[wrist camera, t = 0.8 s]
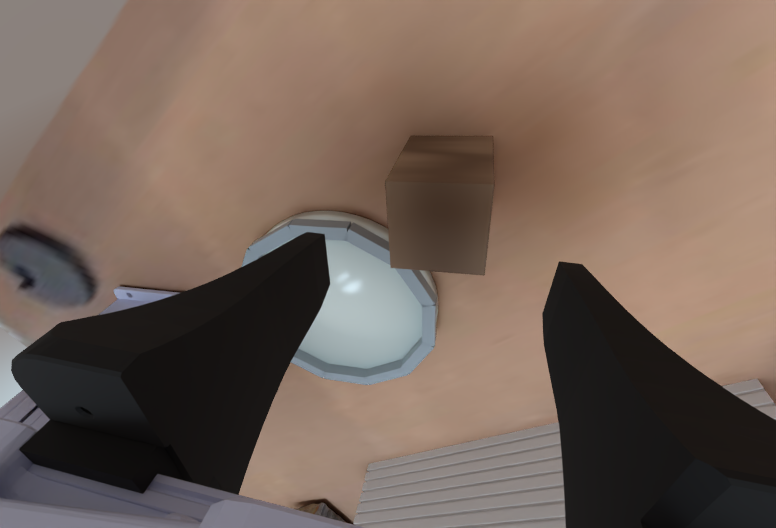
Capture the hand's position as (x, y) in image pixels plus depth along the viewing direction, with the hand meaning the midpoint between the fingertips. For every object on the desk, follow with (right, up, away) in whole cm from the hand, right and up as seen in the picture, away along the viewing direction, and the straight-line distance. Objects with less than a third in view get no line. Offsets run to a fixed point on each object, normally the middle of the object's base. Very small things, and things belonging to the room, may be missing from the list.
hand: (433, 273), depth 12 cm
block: (+2, +5, +8) cm, 10 cm away
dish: (-5, -2, +14) cm, 15 cm away
